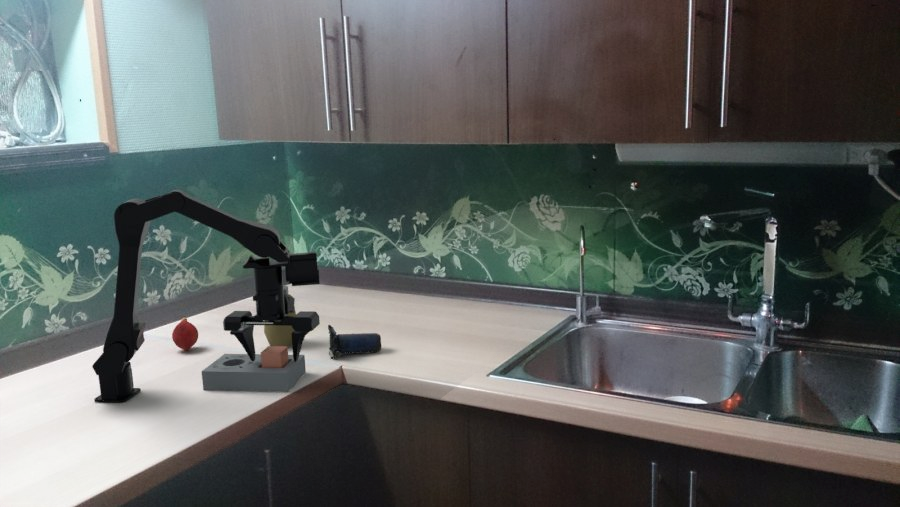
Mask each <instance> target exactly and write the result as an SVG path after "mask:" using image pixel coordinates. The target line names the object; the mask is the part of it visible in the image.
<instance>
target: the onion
mask: <svg viewBox="0 0 900 507" xmlns="http://www.w3.org/2000/svg"><path fill="white" fill-rule="evenodd" d="M171 338H172V342H173V344H174V345H175V346H176V347H178V348H179V349H180V350H183V351H190V349H191V348H192V347H193V346H194V345H195V344H196V343H197V341H198V339H199V331H198V328H197V327H196V326H195V325H194V324H193V323H191V322H189V321H188V318H187V317H183V318H182V319H181V321H180V322H179V323H177V325H176V326H175V327H174V328H173V331H172V337H171Z"/></svg>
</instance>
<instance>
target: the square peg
mask: <svg viewBox="0 0 900 507" xmlns="http://www.w3.org/2000/svg"><path fill="white" fill-rule="evenodd" d="M260 354H261V363H262V368H284V367H285V366H286V365H287V364H288V363H289V360H288V355H289V347H287V346H270V345H269V346H267V347H266V348H264V349H263V350H262V351H261V352H260Z"/></svg>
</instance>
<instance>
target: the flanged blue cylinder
mask: <svg viewBox="0 0 900 507" xmlns="http://www.w3.org/2000/svg"><path fill="white" fill-rule="evenodd" d="M327 328H328V329H327V330H328V334H329V347H328V349H329V351H328V354H329V355H331V353H332V356H330V360H331V359H333V358H334V359H335V358H336V357H337V355H338V353H339V354H343V355H344V354H367V353H366V352H370V353H378V352H379V351H382V350H381V349H382V337H381V335H380V334H378V333H376V332H372V333H371V332H370V333H369V332H368V333H365V332H364V333H341V334H340V333H338V334H337V332H336V330H335V328H334V326H332V325H331V324H328V325H327ZM377 351H378V352H377ZM329 355H328V356H329ZM334 359H333V360H334Z"/></svg>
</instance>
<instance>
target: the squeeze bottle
mask: <svg viewBox="0 0 900 507" xmlns="http://www.w3.org/2000/svg"><path fill="white" fill-rule="evenodd" d="M283 289H286V295H287V296H289V297H293V296H292V295H291V294H289V286H288V285H285V284H283ZM296 314H297V312H296V307H295V305H294V313H289V314H286V315H285V316H295V315H296ZM278 321H280V320H278ZM263 327H264V328H263V332H264V336H265V337H266V339H267V343H268V345H269V346H287V347H288V348H289V347H292V336H291V333H292V332H293V331H295V330H294V329H293V328H292V326H282V325H263Z"/></svg>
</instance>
